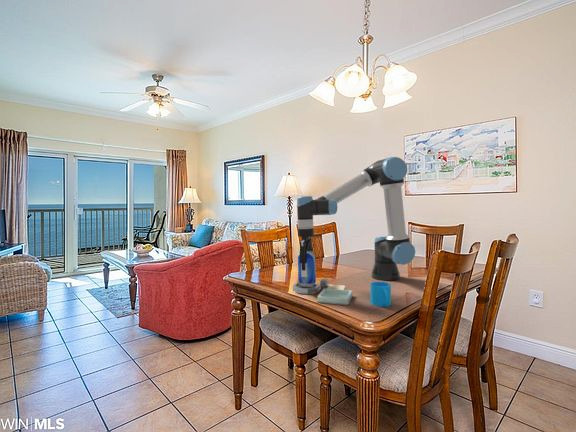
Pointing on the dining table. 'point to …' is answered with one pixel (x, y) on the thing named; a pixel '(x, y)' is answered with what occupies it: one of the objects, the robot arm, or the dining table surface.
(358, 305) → the dining table surface
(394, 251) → the robot arm
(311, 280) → the blue bottle
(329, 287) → the plate
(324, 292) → the tray
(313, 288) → the collar
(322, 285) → the dog
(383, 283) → the mug
